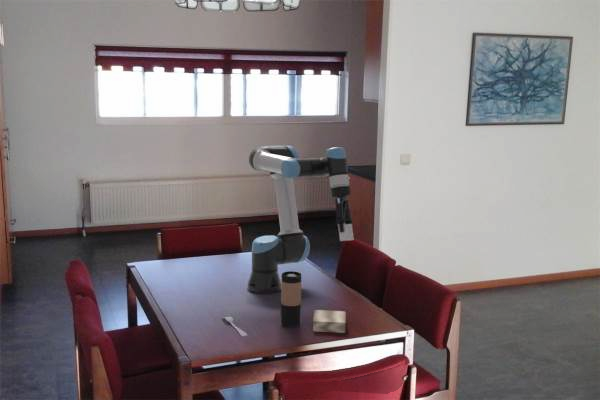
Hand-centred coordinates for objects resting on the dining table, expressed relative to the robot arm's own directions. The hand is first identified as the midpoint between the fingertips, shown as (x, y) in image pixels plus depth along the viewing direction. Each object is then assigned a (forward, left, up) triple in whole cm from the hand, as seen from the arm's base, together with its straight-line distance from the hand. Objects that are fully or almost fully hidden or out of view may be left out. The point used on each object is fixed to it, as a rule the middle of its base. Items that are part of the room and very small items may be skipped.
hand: (347, 240), depth 247 cm
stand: (-6, -10, -31) cm, 34 cm away
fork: (-42, -15, -32) cm, 55 cm away
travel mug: (-21, -10, -32) cm, 39 cm away
